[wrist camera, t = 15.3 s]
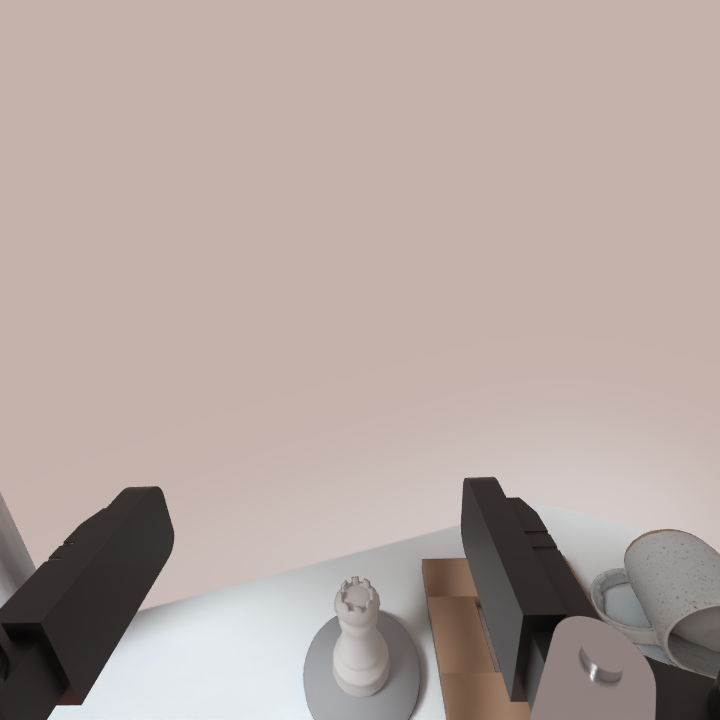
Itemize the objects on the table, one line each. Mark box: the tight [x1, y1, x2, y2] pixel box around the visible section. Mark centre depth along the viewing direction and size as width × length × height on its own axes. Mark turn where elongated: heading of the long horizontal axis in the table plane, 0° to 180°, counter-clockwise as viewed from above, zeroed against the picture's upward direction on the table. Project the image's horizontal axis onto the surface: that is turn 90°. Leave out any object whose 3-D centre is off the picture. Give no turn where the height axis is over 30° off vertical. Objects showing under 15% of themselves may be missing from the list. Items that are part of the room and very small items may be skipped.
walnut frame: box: [422, 556, 604, 720], centre depth 30 cm, size 14×14×1 cm
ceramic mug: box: [590, 529, 720, 679], centre depth 30 cm, size 11×8×8 cm
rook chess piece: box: [333, 577, 390, 697], centre depth 27 cm, size 4×4×8 cm
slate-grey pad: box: [303, 611, 420, 720], centre depth 29 cm, size 9×9×1 cm
